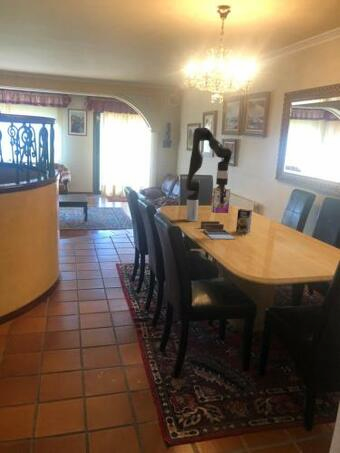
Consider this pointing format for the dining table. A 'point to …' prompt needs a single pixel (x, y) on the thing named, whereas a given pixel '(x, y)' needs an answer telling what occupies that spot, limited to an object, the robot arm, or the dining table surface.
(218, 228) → the walled channel
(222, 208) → the candy bar box
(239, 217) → the coffee box
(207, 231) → the tray
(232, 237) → the pad
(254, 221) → the dining table surface
